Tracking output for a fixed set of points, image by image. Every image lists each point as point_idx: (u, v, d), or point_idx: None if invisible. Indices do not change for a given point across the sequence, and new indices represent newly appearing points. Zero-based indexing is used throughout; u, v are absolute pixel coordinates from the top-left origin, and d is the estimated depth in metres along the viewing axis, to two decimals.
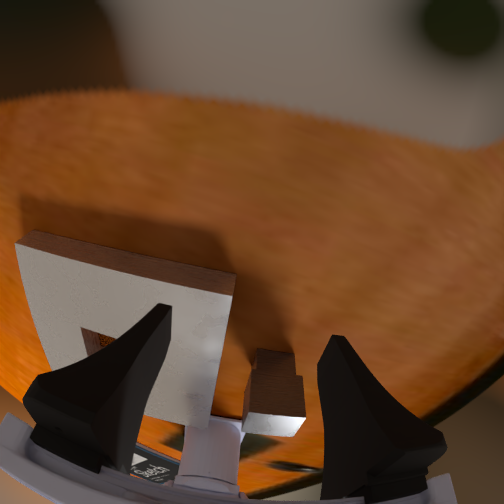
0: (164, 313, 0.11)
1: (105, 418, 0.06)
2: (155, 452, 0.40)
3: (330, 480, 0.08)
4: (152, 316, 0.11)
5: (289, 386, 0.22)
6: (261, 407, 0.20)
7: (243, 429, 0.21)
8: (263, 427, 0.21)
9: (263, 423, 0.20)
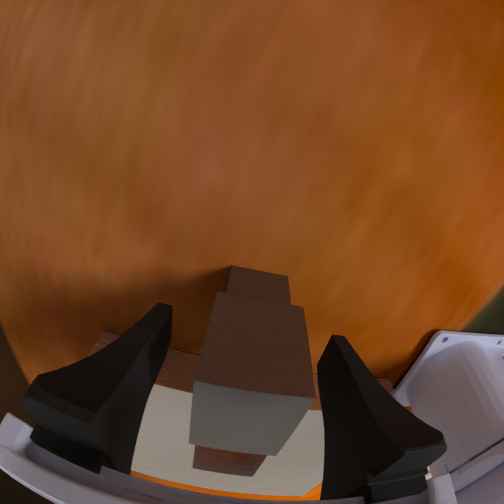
0: (164, 313, 0.11)
1: (105, 418, 0.06)
2: None
3: (330, 480, 0.08)
4: (152, 316, 0.11)
5: None
6: None
7: (265, 453, 0.09)
8: (252, 436, 0.09)
9: (231, 435, 0.09)
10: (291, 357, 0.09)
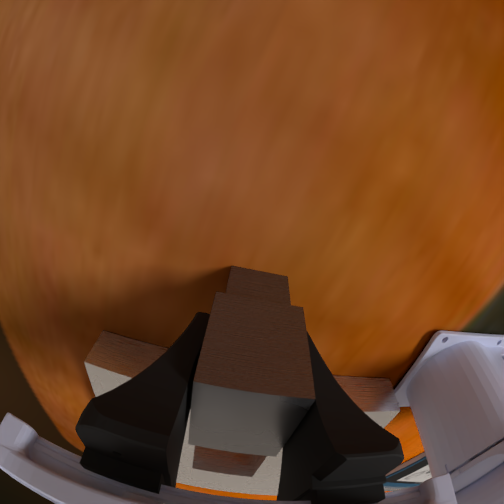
0: None
1: (172, 438, 0.06)
2: None
3: (284, 481, 0.08)
4: (197, 326, 0.11)
5: None
6: None
7: (265, 454, 0.09)
8: (252, 437, 0.09)
9: (231, 436, 0.09)
10: (290, 358, 0.09)
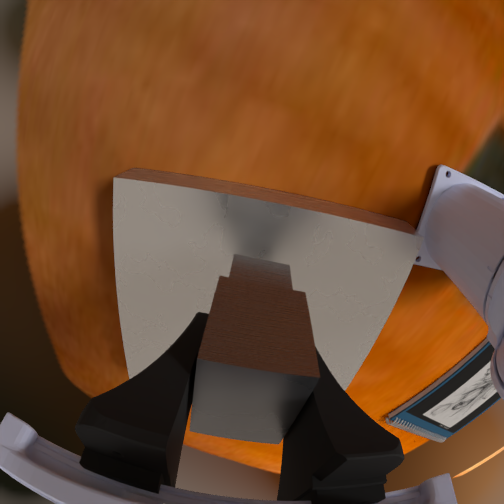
0: None
1: (171, 438, 0.06)
2: None
3: (285, 481, 0.08)
4: (196, 326, 0.11)
5: None
6: None
7: (268, 441, 0.10)
8: (255, 421, 0.09)
9: (234, 421, 0.09)
10: (294, 338, 0.09)
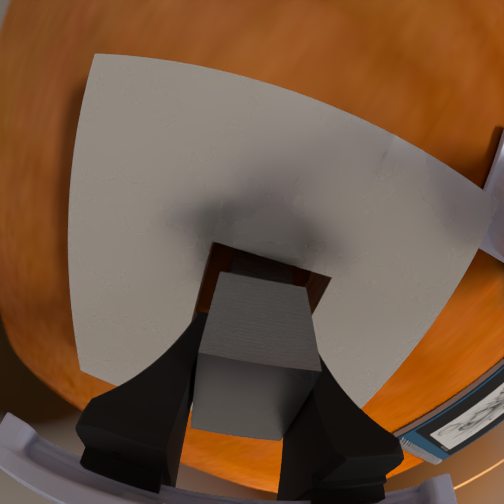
0: None
1: (172, 438, 0.06)
2: None
3: (284, 481, 0.08)
4: (196, 326, 0.11)
5: None
6: None
7: (269, 438, 0.10)
8: (256, 417, 0.09)
9: (235, 417, 0.09)
10: (295, 332, 0.09)
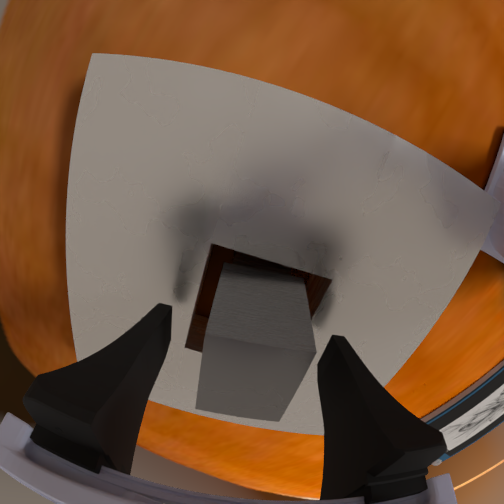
0: (164, 313, 0.11)
1: (105, 418, 0.06)
2: None
3: (330, 480, 0.08)
4: (152, 316, 0.11)
5: None
6: None
7: (269, 419, 0.11)
8: (257, 397, 0.10)
9: (237, 397, 0.10)
10: (293, 317, 0.10)
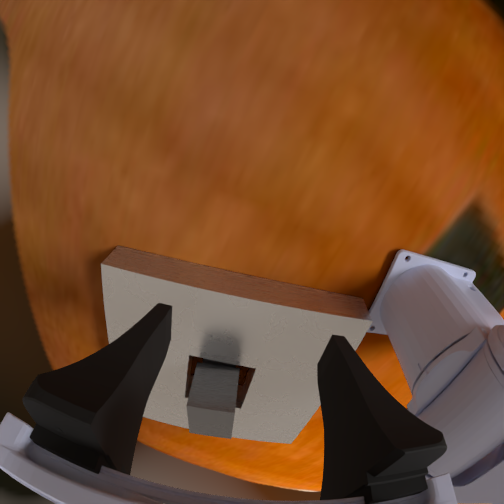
0: (164, 313, 0.11)
1: (105, 418, 0.06)
2: None
3: (330, 480, 0.08)
4: (152, 316, 0.11)
5: None
6: None
7: (225, 437, 0.20)
8: (216, 428, 0.20)
9: (206, 427, 0.20)
10: (227, 395, 0.20)
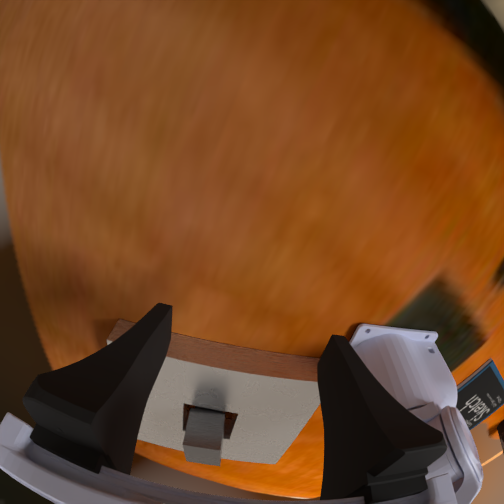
0: (164, 313, 0.11)
1: (105, 418, 0.06)
2: None
3: (330, 481, 0.08)
4: (152, 316, 0.11)
5: None
6: None
7: None
8: (207, 459, 0.23)
9: (200, 458, 0.23)
10: (214, 435, 0.23)
